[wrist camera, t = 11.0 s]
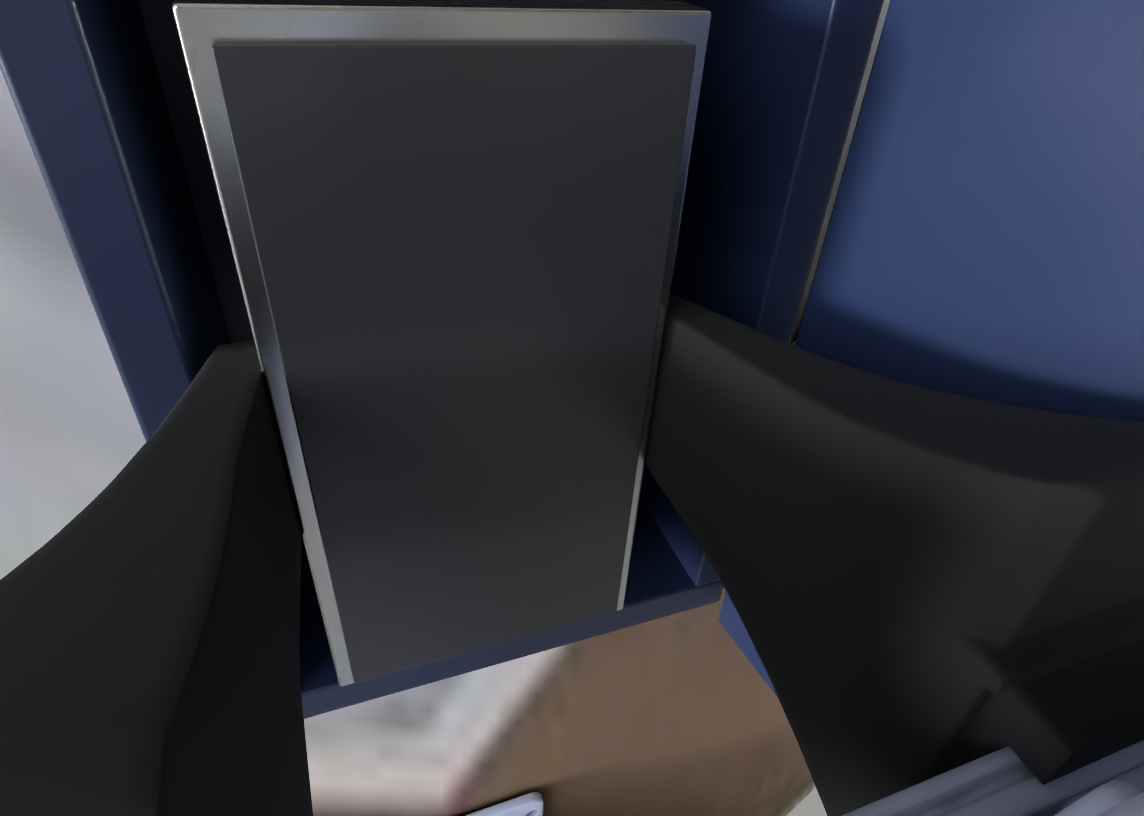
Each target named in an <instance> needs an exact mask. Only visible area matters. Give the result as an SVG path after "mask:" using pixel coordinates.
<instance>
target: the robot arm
mask: <svg viewBox="0 0 1144 816" xmlns="http://www.w3.org/2000/svg"><path fill="white" fill-rule="evenodd" d="M645 464H646V466H647V467H648V469H649V470H650V472H651V474H652V475H653V477H654V478H655V480H656V481H657V483H658V484H659V486H660V487H661V489H662V490H663V491H664V493H665V494H666V496H667V497H668V499H669V500H670V502H671V503H672V505H673V506H674V508H675V509H676V511H677V512H678V514H679V515H680V517H681V518H682V519H683V521H684V522H685V524H686V525H687V527H688V528H689V530H690V531H691V533H692V534H693V536H694V537H695V539H696V540H697V542H698V543H699V545H700V546H701V548H702V549H703V551H704V552H705V554H706V556H707V557H708V559H709V561H710V562H711V564H712V566H713V567H714V569H715V570H716V572H717V574H718V576H719V578H720V580H721V582H722V584H723V586H724V588H725V589H726V591H727V593H728V595H729V597H730V599H731V601H732V603H733V605H734V607H735V609H736V611H737V612H738V614H739V616H740V618H741V620H742V622H743V624H744V626H745V628H746V630H747V632H748V634H749V637H750V639H751V641H752V643H753V645H754V647H755V649H756V651H757V653H758V655H759V657H760V659H761V661H762V663H763V665H764V667H765V670H766V672H767V674H768V676H769V678H770V680H771V683H772V685H773V687H774V689H775V692H776V694H777V696H778V698H779V701H780V703H781V705H782V707H783V710H784V712H785V714H786V716H787V718H788V721H789V723H790V725H791V727H792V730H793V732H794V734H795V736H796V739H797V741H798V744H799V746H800V749H801V751H802V753H803V756H804V758H805V761H806V763H807V766H808V768H809V771H810V773H811V776H812V778H813V781H814V783H815V786H816V788H817V790H818V793H819V796H820V798H821V800H822V803H823V805H824V808H825V811H826V813H827V816H1144V421H1134V420H1123V419H1113V418H1103V417H1092V416H1082V415H1074V414H1066V413H1059V412H1053V411H1046V410H1039V409H1033V408H1026V407H1019V406H1013V405H1008V404H1002V403H997V402H991V401H985V400H980V399H975V398H971V397H966V396H962V395H957V394H953V393H948V392H943V391H939V390H934V389H930V388H926V387H922V386H918V385H914V384H910V383H906V382H902V381H899V380H895V379H892V378H889V377H885V376H882V375H878V374H875V373H872V372H868V371H865V370H862V369H858V368H855V367H852V366H849V365H846V364H843V363H840V362H837V361H834V360H831V359H829V358H826V357H823V356H821V355H818V354H815V353H813V352H810V351H807V350H805V349H802V348H799V347H797V346H794V345H792V344H789V343H787V342H784V341H782V340H779V339H777V338H774V337H772V336H769V335H767V334H765V333H762V332H760V331H758V330H755V329H753V328H751V327H748V326H746V325H744V324H741V323H739V322H737V321H734V320H732V319H730V318H728V317H725V316H723V315H721V314H718V313H716V312H714V311H711V310H709V309H707V308H704V307H702V306H700V305H697V304H695V303H692V302H690V301H687V300H685V299H682V298H679V297H677V296H674V295H671V294H670V296H669V303H668V309H667V316H666V323H665V329H664V336H663V343H662V350H661V356H660V363H659V370H658V376H657V383H656V390H655V396H654V403H653V410H652V417H651V423H650V430H649V437H648V443H647V450H646V457H645ZM300 577H301V529H300V525H299V521H298V517H297V513H296V509H295V504H294V500H293V496H292V492H291V488H290V484H289V480H288V476H287V472H286V468H285V464H284V460H283V456H282V452H281V448H280V444H279V440H278V436H277V432H276V428H275V424H274V420H273V416H272V411H271V407H270V403H269V399H268V395H267V391H266V387H265V383H264V379H263V375H262V371H261V367H260V363H259V359H258V355H257V351H256V347H255V343H254V341H246V342H238V343H230V344H222V345H218V346H217V348H216V349H215V350H214V351H213V352H212V354H211V355H210V356H209V358H208V359H207V361H206V362H205V364H204V365H203V367H202V368H201V369H200V371H199V372H198V374H197V375H196V377H195V378H194V380H193V381H192V383H191V384H190V385H189V387H188V388H187V390H186V391H185V392H184V394H183V395H182V397H181V398H180V399H179V401H178V402H177V404H176V405H175V406H174V407H173V409H172V410H171V411H170V413H169V414H168V415H167V417H166V418H165V419H164V420H163V422H162V423H161V424H160V426H159V427H158V428H157V430H156V431H155V432H154V434H153V435H152V436H151V437H150V438H149V440H148V441H147V442H146V443H145V444H144V446H143V447H142V448H141V449H140V450H139V451H138V452H137V454H136V455H135V456H134V457H133V458H132V459H131V460H130V462H129V463H128V464H127V465H126V466H125V467H124V468H123V470H122V471H121V472H120V473H119V474H118V475H117V476H116V478H115V479H114V480H113V481H112V482H111V483H110V484H109V485H108V486H107V487H106V488H105V489H104V490H103V491H102V492H101V493H100V494H99V495H98V496H97V497H96V498H95V499H94V500H93V501H92V502H91V503H90V504H89V505H88V506H87V507H86V508H85V509H84V510H83V511H82V512H80V513H79V514H78V515H77V516H76V517H75V518H74V519H73V520H72V521H71V522H70V523H68V524H67V525H66V526H65V527H64V528H63V529H62V530H61V531H60V532H59V533H58V534H57V535H55V536H54V537H53V538H52V539H51V540H50V541H48V542H47V543H46V544H45V545H44V546H43V547H41V548H40V549H39V550H38V551H36V552H35V553H34V554H33V555H31V556H30V557H29V558H28V559H26V560H25V561H24V562H23V563H21V564H20V565H19V566H18V567H16V568H15V569H14V570H12V571H11V572H10V573H9V574H7V575H6V576H5V577H4V578H2V579H1V580H0V816H313V811H312V801H311V791H310V781H309V771H308V761H307V751H306V740H305V729H304V718H303V707H302V697H301V686H300V661H299V631H300ZM543 805H544V803H543V799H542V796H541V794H540V793H538V792H532V793H528V794H525V795H522V796H519V797H516V798H514V799H511V800H508V801H505V802H502V803H499V804H496V805H493V806H491V807H488V808H485V809H482V810H479V811H476V812H473V813H470V814H468V815H465V816H543Z"/></svg>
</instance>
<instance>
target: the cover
mask: <svg viewBox="0 0 1144 816" xmlns="http://www.w3.org/2000/svg"><path fill="white" fill-rule="evenodd" d="M795 346H797V347H799V348H802V349H805V350H807V351H810V352H813V353H815V354H818V355H821V356H823V357H826V358H829V359H831V360H834V361H837V362H840V363H843V364H846V365H849V366H852V367H855V368H858V369H862V370H865V371H868V372H872V373H875V374H878V375H882V376H885V377H889V378H892V379H895V380H899V381H902V382H906V383H910V384H914V385H918V386H922V387H926V388H930V389H934V390H939V391H943V392H948V393H953V394H957V395H962V396H966V397H971V398H975V399H980V400H985V401H991V402H997V403H1002V404H1008V405H1013V406H1019V407H1026V408H1033V409H1039V410H1046V411H1053V412H1059V413H1066V414H1074V415H1082V416H1092V417H1103V418H1113V419H1123V420H1134V421H1144V0H890V4H889V8H888V11H887V15H886V18H885V22H884V26H883V29H882V33H881V36H880V40H879V44H878V47H877V51H876V54H875V58H874V62H873V65H872V69H871V72H870V76H869V80H868V83H867V87H866V90H865V94H864V98H863V101H862V105H861V108H860V112H859V116H858V119H857V123H856V126H855V130H854V134H853V137H852V141H851V144H850V148H849V152H848V155H847V159H846V163H845V166H844V170H843V173H842V177H841V181H840V184H839V188H838V191H837V195H836V199H835V202H834V206H833V209H832V213H831V217H830V220H829V224H828V227H827V231H826V235H825V238H824V242H823V245H822V249H821V253H820V256H819V260H818V263H817V267H816V271H815V274H814V278H813V281H812V285H811V289H810V292H809V296H808V299H807V303H806V307H805V310H804V314H803V317H802V321H801V325H800V328H799V332H798V335H797V339H796V343H795ZM719 622H720V623H721V625H722V626H723V627H724V629H725V630H726V631H727V632H728V634H729V635H730V636H731V638H732V639H733V640H734V641H735V643H736V644H737V645H738V647H739V648H740V649H741V651H742V652H743V653H744V654H745V656H746V657H747V658H748V660H749V661H750V662H751V663H752V665H753V666H754V667H755V669H756V670H757V671H758V672H759V674H760V675H761V676H762V678H763V679H764V680H765V682H766V683H767V684H768V685H769V687H770V688H771V689H772V691H773V692H774V693H775V694H776V692H775V689H774V687H773V685H772V683H771V680H770V678H769V676H768V674H767V672H766V670H765V667H764V665H763V663H762V661H761V659H760V657H759V655H758V653H757V651H756V649H755V647H754V645H753V643H752V641H751V639H750V637H749V634H748V632H747V630H746V628H745V626H744V624H743V622H742V620H741V618H740V616H739V614H738V612H737V611H736V609H735V607H734V605H733V603H732V601H731V599H730V597H729V595H728V593H727V591H726V595H725V598H724V602H723V605H722V609H721V613H720V616H719ZM776 696H777V694H776ZM777 697H778V696H777Z"/></svg>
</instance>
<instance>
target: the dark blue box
mask: <svg viewBox="0 0 1144 816" xmlns="http://www.w3.org/2000/svg"><path fill="white" fill-rule="evenodd" d="M676 1H679V2H683V3H686V4H690V5H693V6H697V7H700V8H704V9H707V10H709V11H710V12H711V21H710V27H709V34H708V41H707V48H706V54H705V61H704V68H703V74H702V81H701V88H700V94H699V101H698V108H697V115H696V121H695V128H694V135H693V141H692V148H691V155H690V162H689V168H688V175H687V182H686V188H685V195H684V202H683V209H682V215H681V222H680V229H679V235H678V242H677V249H676V256H675V262H674V269H673V276H672V282H671V289H670V294H671V295H674V296H677V297H679V298H682V299H685V300H687V301H690V302H692V303H695V304H697V305H700V306H702V307H704V308H707V309H709V310H711V311H714V312H716V313H718V314H721V315H723V316H725V317H728V318H730V319H732V320H734V321H737V322H739V323H741V324H744V325H746V326H748V327H751V328H753V329H755V330H758V331H760V332H762V333H765V334H767V335H769V336H772V337H774V338H777V339H779V340H782V341H784V342H787V343H789V344H790V342H791V338H792V334H793V331H794V327H795V323H796V320H797V316H798V312H799V309H800V305H801V301H802V298H803V294H804V290H805V287H806V283H807V279H808V276H809V272H810V268H811V265H812V261H813V257H814V254H815V250H816V246H817V243H818V239H819V235H820V232H821V228H822V224H823V221H824V217H825V213H826V210H827V206H828V202H829V199H830V195H831V191H832V188H833V184H834V180H835V177H836V173H837V169H838V166H839V162H840V158H841V155H842V151H843V147H844V144H845V140H846V136H847V133H848V129H849V125H850V122H851V118H852V114H853V111H854V107H855V103H856V100H857V96H858V92H859V89H860V85H861V81H862V78H863V74H864V70H865V67H866V63H867V59H868V56H869V52H870V48H871V45H872V41H873V37H874V34H875V30H876V26H877V23H878V19H879V15H880V12H881V8H882V4H883V1H884V0H676ZM173 2H174V0H0V68H1V70H2V73H3V75H4V78H5V81H6V83H7V86H8V88H9V91H10V93H11V96H12V99H13V101H14V104H15V106H16V109H17V111H18V114H19V117H20V119H21V122H22V124H23V127H24V129H25V132H26V134H27V137H28V140H29V142H30V145H31V147H32V150H33V152H34V155H35V158H36V160H37V163H38V165H39V168H40V170H41V173H42V176H43V178H44V181H45V183H46V186H47V188H48V191H49V193H50V196H51V199H52V201H53V204H54V206H55V209H56V211H57V214H58V217H59V219H60V222H61V224H62V227H63V229H64V232H65V235H66V237H67V240H68V242H69V245H70V247H71V250H72V252H73V255H74V258H75V260H76V263H77V265H78V268H79V270H80V273H81V276H82V278H83V281H84V283H85V286H86V288H87V291H88V294H89V296H90V299H91V301H92V304H93V306H94V309H95V312H96V314H97V317H98V319H99V322H100V324H101V327H102V329H103V332H104V335H105V337H106V340H107V342H108V345H109V347H110V350H111V353H112V355H113V358H114V360H115V363H116V365H117V368H118V371H119V373H120V376H121V378H122V381H123V383H124V386H125V388H126V391H127V394H128V396H129V399H130V401H131V404H132V406H133V409H134V412H135V414H136V417H137V419H138V422H139V424H140V427H141V430H142V432H143V435H144V437H145V440H146V442H147V441H148V440H149V438H150V437H151V436H152V435H153V434H154V432H155V431H156V430H157V428H158V427H159V426H160V424H161V423H162V422H163V420H164V419H165V418H166V417H167V415H168V414H169V413H170V411H171V410H172V409H173V407H174V406H175V405H176V404H177V402H178V401H179V399H180V398H181V397H182V395H183V394H184V392H185V391H186V390H187V388H188V387H189V385H190V384H191V383H192V381H193V380H194V378H195V377H196V375H197V374H198V372H199V371H200V369H201V368H202V367H203V365H204V364H205V362H206V361H207V359H208V358H209V356H210V355H211V354H212V352H213V351H214V350H215V349H216V348H217V346H218V345H222V344H230V343H238V342H246V341H254V339H253V335H252V331H251V327H250V322H249V318H248V314H247V310H246V306H245V302H244V298H243V294H242V290H241V286H240V282H239V278H238V274H237V270H236V266H235V262H234V258H233V254H232V250H231V246H230V242H229V238H228V234H227V229H226V225H225V221H224V217H223V213H222V209H221V205H220V201H219V197H218V193H217V189H216V185H215V181H214V177H213V173H212V169H211V165H210V161H209V157H208V153H207V149H206V145H205V141H204V136H203V132H202V128H201V124H200V120H199V116H198V112H197V108H196V104H195V100H194V96H193V92H192V88H191V84H190V80H189V76H188V72H187V68H186V64H185V60H184V56H183V52H182V47H181V43H180V39H179V35H178V31H177V27H176V23H175V19H174V15H173V11H172V4H173ZM722 590H723V584H722V582H721V580H720V578H719V576H718V574H717V572H716V570H715V569H714V567H713V566H712V564H711V562H710V561H709V559H708V557H707V556H706V554H705V552H704V551H703V549H702V548H701V546H700V545H699V543H698V542H697V540H696V539H695V537H694V536H693V534H692V533H691V531H690V530H689V528H688V527H687V525H686V524H685V522H684V521H683V519H682V518H681V517H680V515H679V514H678V512H677V511H676V509H675V508H674V506H673V505H672V503H671V502H670V500H669V499H668V497H667V496H666V494H665V493H664V491H663V490H662V489H661V487H660V486H659V484H658V483H657V481H656V480H655V478H654V477H653V475H652V474H651V472H650V470H649V469H648V467H647V466H646V464H644V470H643V477H642V484H641V490H640V497H639V504H638V511H637V517H636V524H635V531H634V537H633V544H632V551H631V558H630V564H629V571H628V578H627V584H626V591H625V598H624V605H623V609H622V610H619V611H616V612H612V613H609V614H605V615H602V616H598V617H594V618H591V619H587V620H583V621H580V622H576V623H572V624H569V625H565V626H561V627H558V628H554V629H551V630H547V631H543V632H540V633H536V634H532V635H529V636H525V637H521V638H518V639H514V640H511V641H507V642H503V643H500V644H496V645H492V646H489V647H485V648H481V649H478V650H474V651H471V652H467V653H463V654H460V655H456V656H452V657H449V658H445V659H441V660H438V661H434V662H431V663H427V664H423V665H420V666H416V667H412V668H409V669H405V670H401V671H398V672H394V673H390V674H387V675H383V676H380V677H376V678H372V679H369V680H365V681H361V682H358V683H353V684H349V685H346V686H340V685H339V682H338V678H337V674H336V670H335V666H334V662H333V658H332V654H331V650H330V646H329V642H328V638H327V634H326V630H325V626H324V622H323V618H322V614H321V610H320V606H319V602H318V597H317V593H316V589H315V585H314V581H313V577H312V573H311V569H310V565H309V561H308V557H307V553H306V549H305V545H304V541H303V537H302V533H301V577H300V631H299V661H300V686H301V697H302V707H303V718H304V719H305V718H308V717H312V716H315V715H319V714H323V713H326V712H330V711H333V710H337V709H340V708H344V707H347V706H351V705H354V704H358V703H361V702H365V701H368V700H372V699H375V698H379V697H382V696H386V695H390V694H393V693H397V692H400V691H404V690H407V689H411V688H414V687H418V686H421V685H425V684H428V683H432V682H435V681H439V680H442V679H446V678H450V677H453V676H457V675H460V674H464V673H467V672H471V671H474V670H478V669H481V668H485V667H488V666H492V665H495V664H499V663H502V662H506V661H509V660H513V659H517V658H520V657H524V656H527V655H531V654H534V653H538V652H541V651H545V650H548V649H552V648H555V647H559V646H562V645H566V644H569V643H573V642H577V641H580V640H584V639H587V638H591V637H594V636H598V635H601V634H605V633H608V632H612V631H615V630H619V629H622V628H626V627H629V626H633V625H636V624H640V623H644V622H647V621H651V620H654V619H658V618H661V617H665V616H668V615H672V614H675V613H679V612H682V611H686V610H689V609H693V608H696V607H700V606H704V605H707V604H711V603H714V602H718V601H719V600H720V597H721V594H722Z"/></svg>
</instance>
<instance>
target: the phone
mask: <svg viewBox="0 0 1144 816" xmlns="http://www.w3.org/2000/svg"><path fill="white" fill-rule="evenodd" d="M172 11H173V15H174V19H175V23H176V27H177V31H178V35H179V39H180V43H181V47H182V52H183V56H184V60H185V64H186V68H187V72H188V76H189V80H190V84H191V88H192V92H193V96H194V100H195V104H196V108H197V112H198V116H199V120H200V124H201V128H202V132H203V136H204V141H205V145H206V149H207V153H208V157H209V161H210V165H211V169H212V173H213V177H214V181H215V185H216V189H217V193H218V197H219V201H220V205H221V209H222V213H223V217H224V221H225V225H226V229H227V234H228V238H229V242H230V246H231V250H232V254H233V258H234V262H235V266H236V270H237V274H238V278H239V282H240V286H241V290H242V294H243V298H244V302H245V306H246V310H247V314H248V318H249V322H250V327H251V331H252V335H253V339H254V343H255V347H256V351H257V355H258V359H259V363H260V367H261V371H262V375H263V379H264V383H265V387H266V391H267V395H268V399H269V403H270V407H271V411H272V416H273V420H274V424H275V428H276V432H277V436H278V440H279V444H280V448H281V452H282V456H283V460H284V464H285V468H286V472H287V476H288V480H289V484H290V488H291V492H292V496H293V500H294V504H295V509H296V513H297V517H298V521H299V525H300V529H301V533H302V537H303V541H304V545H305V549H306V553H307V557H308V561H309V565H310V569H311V573H312V577H313V581H314V585H315V589H316V593H317V597H318V602H319V606H320V610H321V614H322V618H323V622H324V626H325V630H326V634H327V638H328V642H329V646H330V650H331V654H332V658H333V662H334V666H335V670H336V674H337V678H338V682H339V685H340V686H346V685H349V684H353V683H358V682H361V681H365V680H369V679H372V678H376V677H380V676H383V675H387V674H390V673H394V672H398V671H401V670H405V669H409V668H412V667H416V666H420V665H423V664H427V663H431V662H434V661H438V660H441V659H445V658H449V657H452V656H456V655H460V654H463V653H467V652H471V651H474V650H478V649H481V648H485V647H489V646H492V645H496V644H500V643H503V642H507V641H511V640H514V639H518V638H521V637H525V636H529V635H532V634H536V633H540V632H543V631H547V630H551V629H554V628H558V627H561V626H565V625H569V624H572V623H576V622H580V621H583V620H587V619H591V618H594V617H598V616H602V615H605V614H609V613H612V612H616V611H619V610H622V609H623V605H624V598H625V591H626V584H627V578H628V571H629V564H630V558H631V551H632V544H633V537H634V531H635V524H636V517H637V511H638V504H639V497H640V490H641V484H642V477H643V470H644V464H645V457H646V450H647V443H648V437H649V430H650V423H651V417H652V410H653V403H654V396H655V390H656V383H657V376H658V370H659V363H660V356H661V350H662V343H663V336H664V329H665V323H666V316H667V309H668V303H669V296H670V289H671V282H672V276H673V269H674V262H675V256H676V249H677V242H678V235H679V229H680V222H681V215H682V209H683V202H684V195H685V188H686V182H687V175H688V168H689V162H690V155H691V148H692V141H693V135H694V128H695V121H696V115H697V108H698V101H699V94H700V88H701V81H702V74H703V68H704V61H705V54H706V48H707V41H708V34H709V27H710V21H711V12H710V11H709V10H707V9H704V8H700V7H697V6H693V5H690V4H686V3H683V2H679V1H676V0H174V2H173V4H172Z"/></svg>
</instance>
